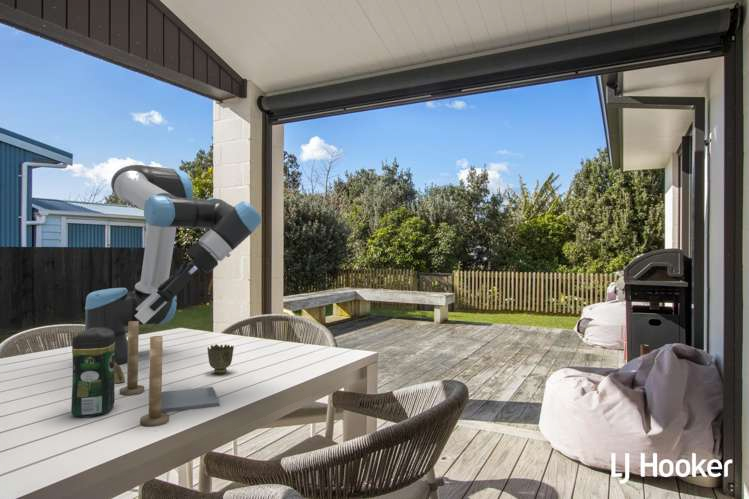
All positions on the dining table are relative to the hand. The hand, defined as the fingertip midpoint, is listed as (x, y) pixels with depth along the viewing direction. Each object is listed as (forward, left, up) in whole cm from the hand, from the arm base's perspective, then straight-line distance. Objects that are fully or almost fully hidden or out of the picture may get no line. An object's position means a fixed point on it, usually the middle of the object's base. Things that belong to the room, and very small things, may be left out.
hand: (139, 316), depth 110 cm
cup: (+6, +32, -21) cm, 39 cm away
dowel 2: (+9, -8, -21) cm, 24 cm away
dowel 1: (-8, +11, -21) cm, 25 cm away
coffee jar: (-8, -4, -21) cm, 23 cm away
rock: (-20, +16, -21) cm, 33 cm away
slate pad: (+9, +6, -21) cm, 24 cm away
